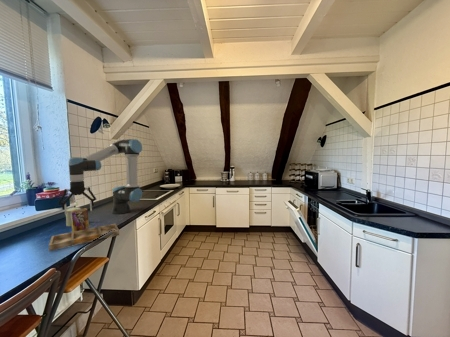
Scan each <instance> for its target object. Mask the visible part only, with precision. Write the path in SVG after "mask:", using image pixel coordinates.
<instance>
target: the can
mask: <svg viewBox="0 0 450 337" xmlns="http://www.w3.org/2000/svg"><path fill="white" fill-rule="evenodd" d="M79 209H82V208H81V207H70V208H66V210H67V215H65V219H66V220H65V225H66V227H72V225H71V213H70V211H74V210H79Z"/></svg>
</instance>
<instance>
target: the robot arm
mask: <svg viewBox="0 0 450 337" xmlns="http://www.w3.org/2000/svg"><path fill="white" fill-rule="evenodd" d="M142 150H143V145H142V142H141V141H140V140H138V139H136V138H135V139H134V138H131V139H121V140H118V141H116V142H114V143H111V144H109V145H108V146H107V147H105V148H103V149H100V150H98V151H96V152H93V153H91V154H89V155H86V156H84V157H70V158H69V159H68V172H69V173H68V174H69V181H70V182H69V187H70V188H68V189H67V188H64V190H63V194H62V196H61V198H60V199H59V201H58V203H57V205H61V207H62V208H61V209H62V210H63V211H64V215H65V216H66V215H67V210H66V209H67V202H69V200H70V199H71V198H72V196H81V195H83V196H84V197H86V198H87V199H88V200H89V209H90V212H92V211H93V206H94V204H95V203H94V201H97V197H96V196H95V194H94V193H93V192H92V190H91V187H90V186H88V187H85V177H84V176H85V175H84V174H85V173H84V172H94V171H95V172H96V171H99V170H101V168H102V163H101V161H103V160H106V159H108V158H109V157H112V156H117V155H119V154H124V156H125V157H126V185H121V186H116V187H115V186H114V187H113V189H112V198H113V199H112V201H113V205H112V209H111V214H112V215H122V214H126V213H129V212H131V205H130V203H129V202H131V203H133V202H135V203H137V202H139V201H140V200H141V199H142V196H143V191H142V189H141V188H140V185H139V183H138V157H139V156H140V153H141V152H142ZM85 191H86V192H88V193H89V194H90V196H89V195H88V193H86V192H85ZM69 192H70V194H69V195H68V196H67V197H66V195H67V193H69ZM65 197H66V199H65V200H64V198H65Z"/></svg>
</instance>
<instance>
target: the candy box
mask: <svg viewBox="0 0 450 337" xmlns="http://www.w3.org/2000/svg"><path fill="white" fill-rule="evenodd" d="M88 211H89V210H88V208H85V207H84V208H81V209H79V210H74V211H70V213H71V225H72V226H71V232H76V231H81V230H86V229H90V223H89V212H88Z"/></svg>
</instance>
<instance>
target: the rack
mask: <svg viewBox="0 0 450 337" xmlns="http://www.w3.org/2000/svg"><path fill="white" fill-rule="evenodd" d="M111 230H115V231H112V233H113V234H112V235H111V236H109V237H108V238H107V239H109V238H112V237H119V236H120V229H119V228H118V225H117V224H116V223H111V224H108V225H107V224H106V225H102V226H97V227H90V228H89V229H86V230H81V231H76V232H72V231H71V232H66V233H59V234H56V235H52V236H51V237H50V240H49V243H48V251H49V252H51V251H56V249H57V250H61V249H65V248H64V247H66V248H69V247H68V246H70V247H73V246H72V245H74V246H78V245H77V244H79V245H81V244H82V245H84V244H86V243H91V242H94V241H93V240H95V239H97V238H99V237H100V236H102V235H104V234H106V233H108V232H109V231H111ZM60 248H61V249H60Z"/></svg>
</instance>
